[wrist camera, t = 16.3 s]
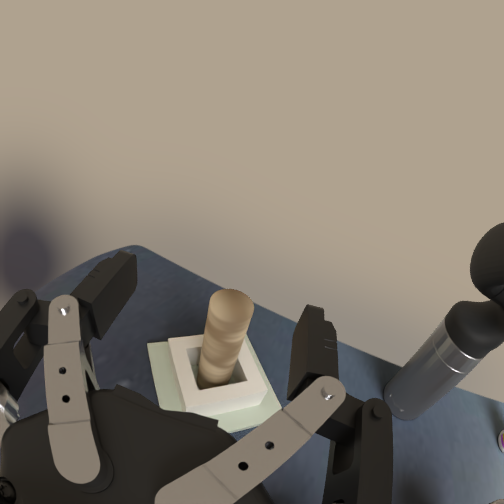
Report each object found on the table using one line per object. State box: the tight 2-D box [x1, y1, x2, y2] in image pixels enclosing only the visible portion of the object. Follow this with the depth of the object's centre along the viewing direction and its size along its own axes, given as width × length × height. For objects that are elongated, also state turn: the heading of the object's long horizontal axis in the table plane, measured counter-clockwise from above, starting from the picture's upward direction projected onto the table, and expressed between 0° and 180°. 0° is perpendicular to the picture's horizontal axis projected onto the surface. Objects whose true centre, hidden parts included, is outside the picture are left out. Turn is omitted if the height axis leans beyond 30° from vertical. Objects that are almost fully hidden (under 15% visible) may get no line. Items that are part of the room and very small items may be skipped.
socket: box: [147, 334, 282, 433], centre depth 36 cm, size 16×16×6 cm
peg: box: [197, 289, 254, 390], centre depth 32 cm, size 4×4×16 cm
